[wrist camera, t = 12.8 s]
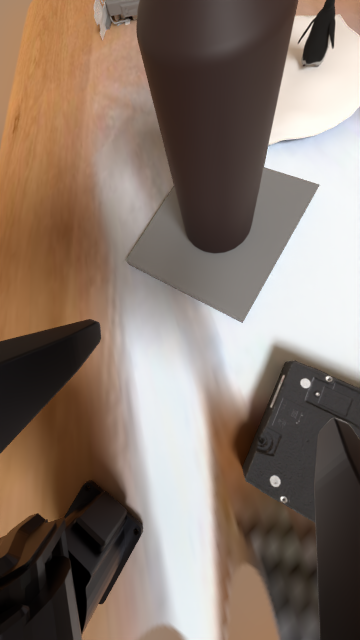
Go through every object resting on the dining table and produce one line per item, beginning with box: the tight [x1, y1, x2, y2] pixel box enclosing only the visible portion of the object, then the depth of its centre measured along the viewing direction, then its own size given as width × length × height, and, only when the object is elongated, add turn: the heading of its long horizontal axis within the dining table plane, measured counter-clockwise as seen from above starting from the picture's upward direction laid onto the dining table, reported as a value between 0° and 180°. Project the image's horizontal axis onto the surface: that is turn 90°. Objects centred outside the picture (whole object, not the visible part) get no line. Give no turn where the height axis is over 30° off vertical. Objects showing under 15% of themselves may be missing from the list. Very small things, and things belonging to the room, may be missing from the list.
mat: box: [126, 168, 319, 323], centre depth 24 cm, size 16×14×1 cm
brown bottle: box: [137, 0, 298, 254], centre depth 14 cm, size 7×7×20 cm
